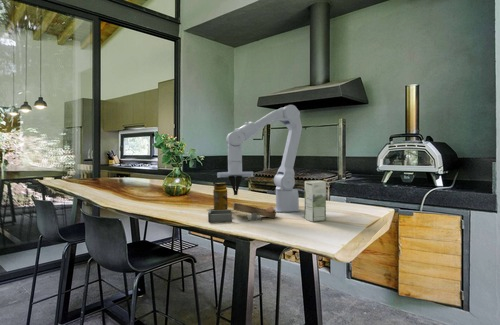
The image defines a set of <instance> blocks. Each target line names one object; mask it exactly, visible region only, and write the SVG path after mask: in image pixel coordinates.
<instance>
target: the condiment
mask: <svg viewBox="0 0 500 325" xmlns="http://www.w3.org/2000/svg"><path fill="white" fill-rule="evenodd" d="M213 188H214V189H213V192H212V194H213V208H209V209H211V210H230V209H229V208H228V205H229V204H228V189H227V183H226V182H223V181H222V182H215V183H213ZM209 209H206V210H207V211H208V212H209Z"/></svg>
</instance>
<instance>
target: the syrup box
mask: <svg viewBox="0 0 500 325" xmlns="http://www.w3.org/2000/svg"><path fill="white" fill-rule="evenodd" d="M326 206H327V182H326V181H324V180H319V179H317V180H316V179H315V180H314V179H313V180H305V181H304V220H306V219H307V221H309V222H312V223H315V222H323V221H326V220H327V217H326V216H327V210H326V208H327V207H326Z"/></svg>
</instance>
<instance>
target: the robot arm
mask: <svg viewBox="0 0 500 325" xmlns="http://www.w3.org/2000/svg"><path fill="white" fill-rule="evenodd" d="M301 120H302V119H301V112H300V110H299V109H298V108H297V106H296V105H294V104H288V105H285V106H284V107H280V108H278V109H275V110H272V111H271V112H269V113H267V114H266V115H264V116H262V117H261V118H260V119H258V120H256V121H255V122H254V121H246V122H244V123H243V125H242V126H240V127H238V128H237V127H236V128H235V129H234V130H233V131H232V132H229V133H228V134H227V136H226V138H225V141H226V144H227V171H221V172H220V171H219V172H217V173H216V176H217V177H216V178H228V180H229V183H230V184H231V187H232V190H233V196H238V194H239V188H240V185H241V182H242V180H243V178H245V177H247V178H248V177H249V178H250V177H251V178H252V177H254V171H243V151H242V144H243V142H246V141H248V140H249V139H250V138H252V137H253V136H256V135H257V134H258V133H259V130H260V129H261V128H263V127H265V126H267V125H269V124H270V123H272V122H274V121H275V122H276V121H279V122H281V123H282V124H283V125H285V127H286V128H287V130H288V133H287V137H286V141H285V146H284V151H283V155H282V159H281V164H280V166H279V168H278V169H277V173H276V174H275V175H274V177H273V184H274V185H275V186H276V187H275V206H274V207H273V208H274V210H275V211H276V213H288V212H289V213H290V212H292V213H293V212H300V210H299V209H300V207H299V205H300V204H299V201H300V200H299V198H300V197H299V191H298V189H294V187H295V184H296V181H295V170H294V168H295V167H294V166H295V161H296V157H297V153H298V148H299V144H300V140H301V136H302V135H301V134H302V132H303V131H302V130H303V125H302V122H301Z"/></svg>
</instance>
